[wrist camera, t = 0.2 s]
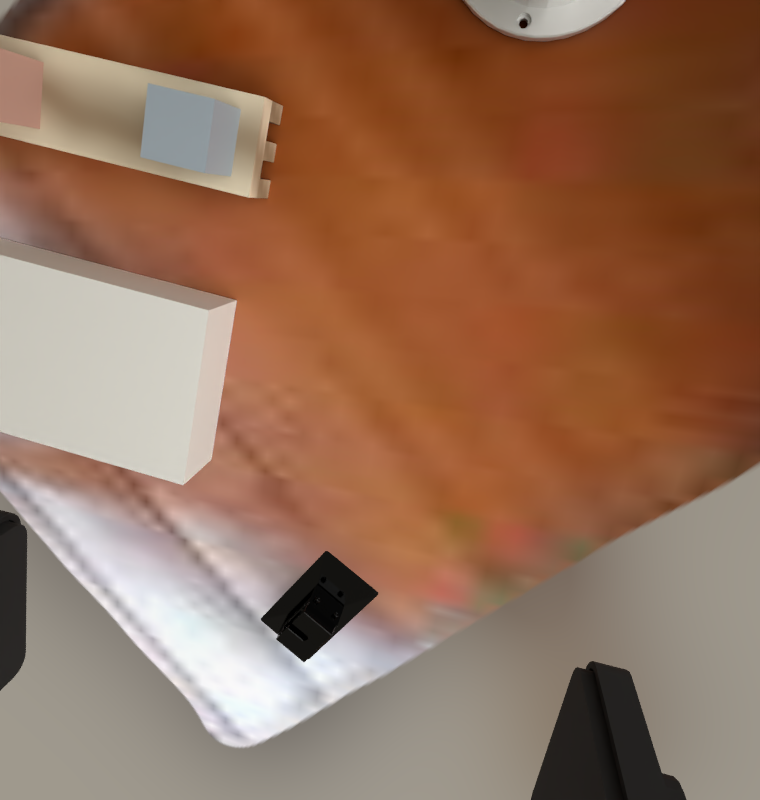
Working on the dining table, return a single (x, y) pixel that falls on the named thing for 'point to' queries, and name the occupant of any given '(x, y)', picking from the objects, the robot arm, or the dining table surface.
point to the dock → (110, 362)
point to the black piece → (318, 606)
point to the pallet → (134, 117)
